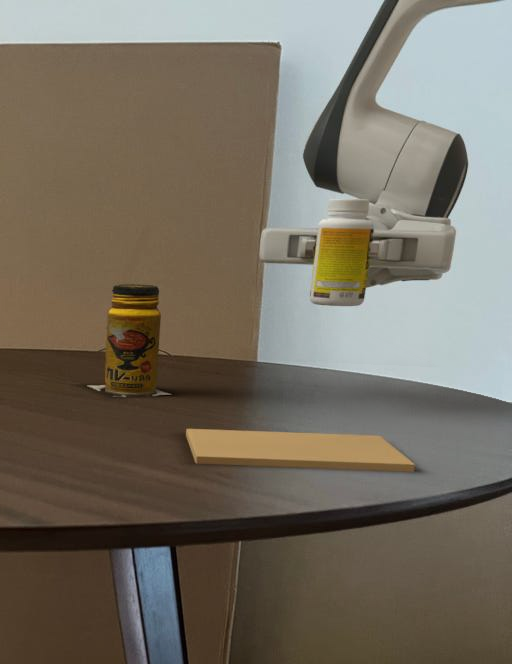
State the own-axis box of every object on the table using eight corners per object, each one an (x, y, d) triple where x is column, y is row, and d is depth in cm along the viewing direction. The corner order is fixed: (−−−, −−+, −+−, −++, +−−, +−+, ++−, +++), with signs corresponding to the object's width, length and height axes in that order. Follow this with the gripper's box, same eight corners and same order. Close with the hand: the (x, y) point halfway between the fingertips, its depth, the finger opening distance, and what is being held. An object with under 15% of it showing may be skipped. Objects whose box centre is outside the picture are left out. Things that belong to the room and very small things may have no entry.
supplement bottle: (370, 307, 105) (385, 199, 102) (316, 306, 105) (329, 198, 101) (354, 303, 111) (368, 199, 107) (303, 302, 111) (315, 198, 107)
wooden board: (378, 444, 96) (380, 435, 96) (413, 473, 85) (415, 464, 85) (185, 436, 97) (186, 428, 97) (195, 465, 86) (196, 455, 86)
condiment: (114, 398, 117) (120, 287, 112) (85, 387, 124) (90, 282, 119) (171, 396, 119) (180, 287, 114) (140, 385, 126) (147, 282, 122)
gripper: (279, 215, 120) (245, 213, 108) (466, 218, 111) (451, 217, 100) (273, 272, 122) (239, 277, 111) (456, 279, 114) (440, 285, 102)
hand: (341, 248), depth 105 cm, fingers closed on supplement bottle, 5 cm apart
